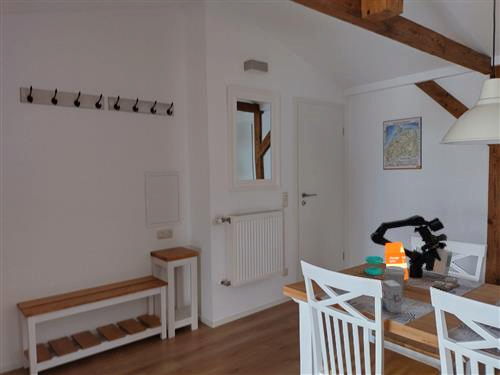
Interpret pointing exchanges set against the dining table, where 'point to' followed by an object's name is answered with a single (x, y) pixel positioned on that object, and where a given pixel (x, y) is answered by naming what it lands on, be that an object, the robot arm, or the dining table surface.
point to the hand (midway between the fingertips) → (442, 260)
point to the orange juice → (396, 256)
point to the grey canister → (395, 275)
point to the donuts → (374, 270)
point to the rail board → (446, 284)
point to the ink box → (392, 296)
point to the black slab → (429, 261)
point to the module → (443, 262)
